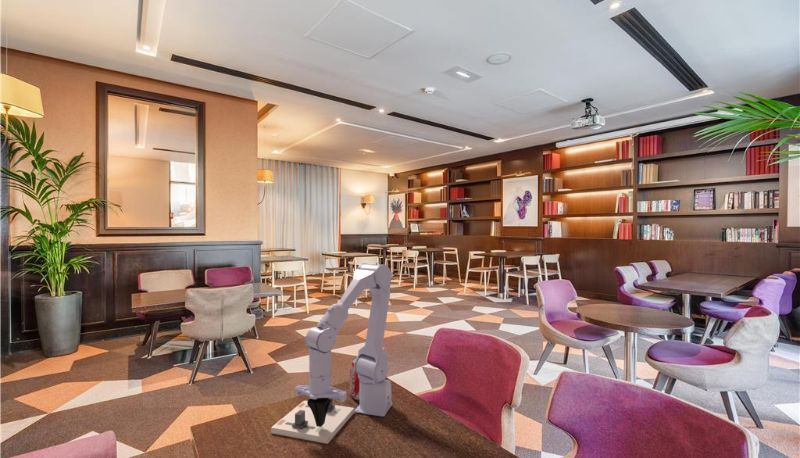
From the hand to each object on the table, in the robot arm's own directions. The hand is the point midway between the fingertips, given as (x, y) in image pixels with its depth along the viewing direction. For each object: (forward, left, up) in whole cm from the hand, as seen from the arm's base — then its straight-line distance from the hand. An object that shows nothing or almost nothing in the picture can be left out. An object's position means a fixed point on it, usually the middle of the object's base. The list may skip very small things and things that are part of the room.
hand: (320, 424), depth 93 cm
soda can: (-1, -23, -3) cm, 24 cm away
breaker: (+3, -10, -1) cm, 11 cm away
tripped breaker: (+6, 0, -1) cm, 6 cm away
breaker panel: (+5, -5, -3) cm, 7 cm away
